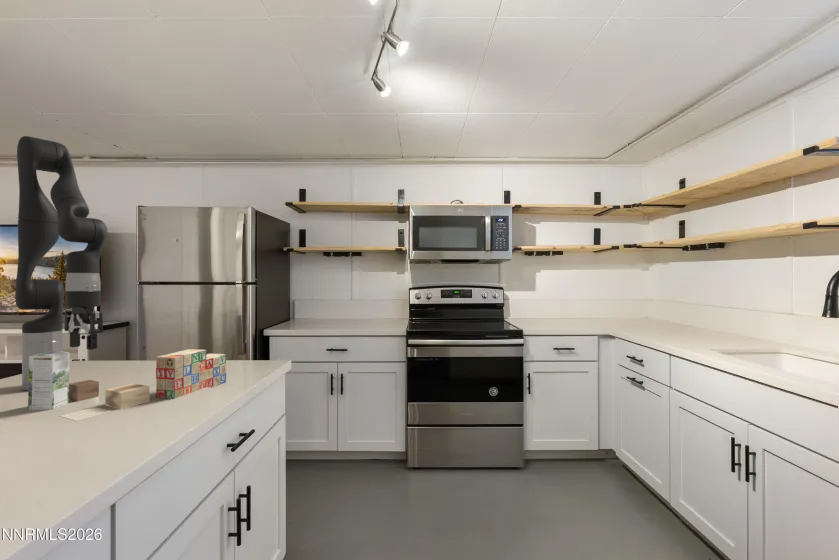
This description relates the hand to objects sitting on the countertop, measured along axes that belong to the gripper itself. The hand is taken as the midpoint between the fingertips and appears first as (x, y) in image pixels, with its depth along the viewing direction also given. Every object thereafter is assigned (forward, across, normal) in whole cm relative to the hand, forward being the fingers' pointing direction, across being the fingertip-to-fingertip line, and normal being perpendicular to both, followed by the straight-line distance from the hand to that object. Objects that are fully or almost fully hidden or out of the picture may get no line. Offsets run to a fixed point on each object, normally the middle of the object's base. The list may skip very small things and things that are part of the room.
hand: (83, 348), depth 113 cm
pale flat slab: (+14, +13, -2) cm, 19 cm away
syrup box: (+15, +1, -8) cm, 17 cm away
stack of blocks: (+15, +18, +20) cm, 31 cm away
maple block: (+14, +16, +3) cm, 21 cm away
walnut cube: (+15, 0, 0) cm, 15 cm away
